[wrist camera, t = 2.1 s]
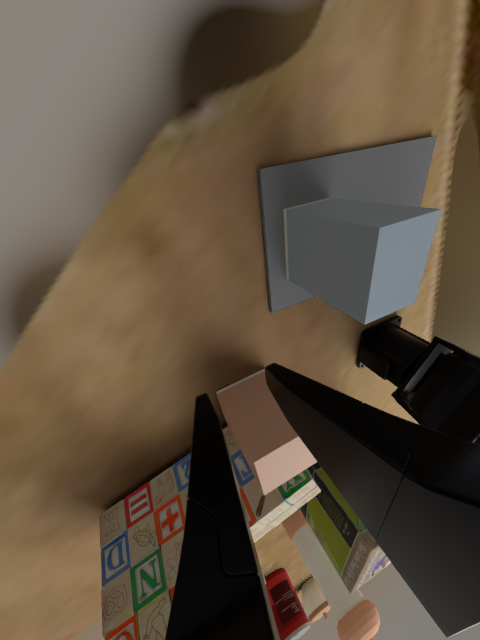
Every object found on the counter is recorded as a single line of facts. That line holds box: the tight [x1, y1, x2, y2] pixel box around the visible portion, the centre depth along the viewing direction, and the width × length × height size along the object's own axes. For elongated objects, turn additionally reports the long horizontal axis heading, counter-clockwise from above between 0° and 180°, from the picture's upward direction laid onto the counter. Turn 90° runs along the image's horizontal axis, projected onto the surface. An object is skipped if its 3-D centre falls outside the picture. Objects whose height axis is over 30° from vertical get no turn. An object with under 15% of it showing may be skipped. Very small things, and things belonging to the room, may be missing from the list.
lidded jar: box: [302, 577, 331, 623], centre depth 84 cm, size 11×11×9 cm
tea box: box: [299, 462, 391, 594], centre depth 37 cm, size 15×10×15 cm, turn 4°
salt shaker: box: [282, 508, 380, 640], centre depth 44 cm, size 7×7×19 cm
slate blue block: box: [283, 198, 441, 325], centre depth 19 cm, size 4×6×9 cm
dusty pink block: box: [216, 368, 317, 496], centre depth 25 cm, size 4×6×9 cm
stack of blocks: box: [99, 426, 321, 640], centre depth 26 cm, size 21×6×12 cm, turn 115°
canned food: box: [265, 568, 310, 640], centre depth 63 cm, size 8×8×11 cm
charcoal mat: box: [258, 136, 437, 313], centre depth 24 cm, size 18×12×1 cm, turn 99°
